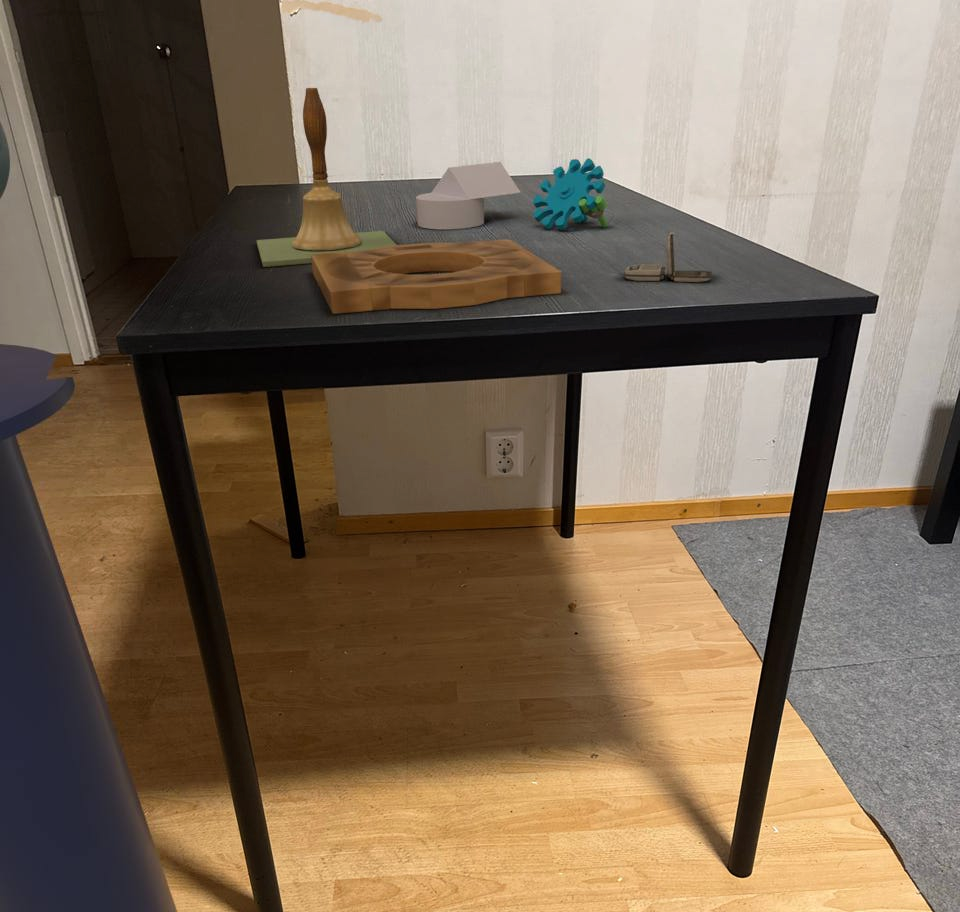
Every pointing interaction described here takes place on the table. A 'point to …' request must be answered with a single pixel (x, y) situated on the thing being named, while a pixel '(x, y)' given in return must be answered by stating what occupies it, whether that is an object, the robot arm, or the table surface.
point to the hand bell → (321, 190)
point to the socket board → (431, 276)
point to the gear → (572, 196)
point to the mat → (286, 254)
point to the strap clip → (657, 271)
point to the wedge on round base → (463, 196)
